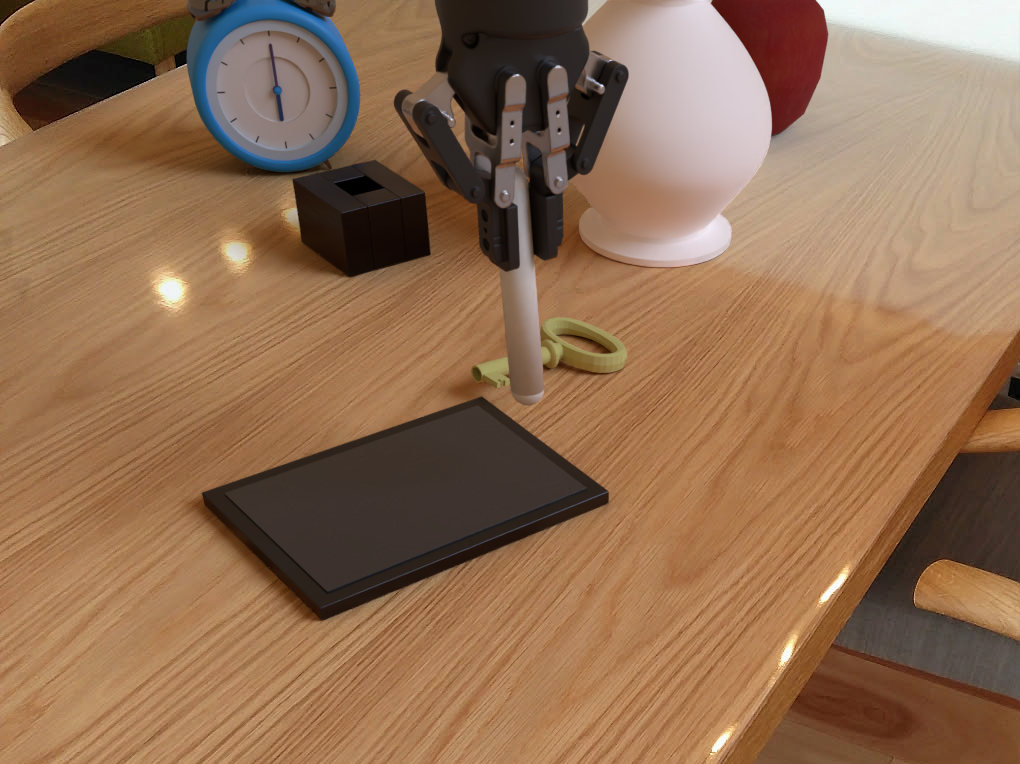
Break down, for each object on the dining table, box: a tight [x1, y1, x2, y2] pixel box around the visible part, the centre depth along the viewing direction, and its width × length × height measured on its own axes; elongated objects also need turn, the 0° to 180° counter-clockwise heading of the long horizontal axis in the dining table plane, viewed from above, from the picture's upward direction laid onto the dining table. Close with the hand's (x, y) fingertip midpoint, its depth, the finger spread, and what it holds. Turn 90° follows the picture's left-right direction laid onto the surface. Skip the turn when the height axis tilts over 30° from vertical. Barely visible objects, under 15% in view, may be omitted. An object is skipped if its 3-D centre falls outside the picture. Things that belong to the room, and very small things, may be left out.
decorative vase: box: [567, 0, 772, 268], centre depth 111 cm, size 18×18×25 cm
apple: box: [710, 0, 829, 136], centre depth 133 cm, size 12×12×13 cm
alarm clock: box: [185, 0, 361, 176], centre depth 119 cm, size 13×6×15 cm, turn 110°
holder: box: [291, 159, 432, 278], centre depth 112 cm, size 7×7×5 cm
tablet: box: [201, 396, 610, 621], centre depth 89 cm, size 20×14×1 cm
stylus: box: [498, 164, 545, 406], centre depth 83 cm, size 2×2×14 cm
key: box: [470, 316, 628, 389], centre depth 101 cm, size 7×12×2 cm, turn 155°
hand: (522, 258), depth 81 cm, fingers closed on stylus, 2 cm apart
